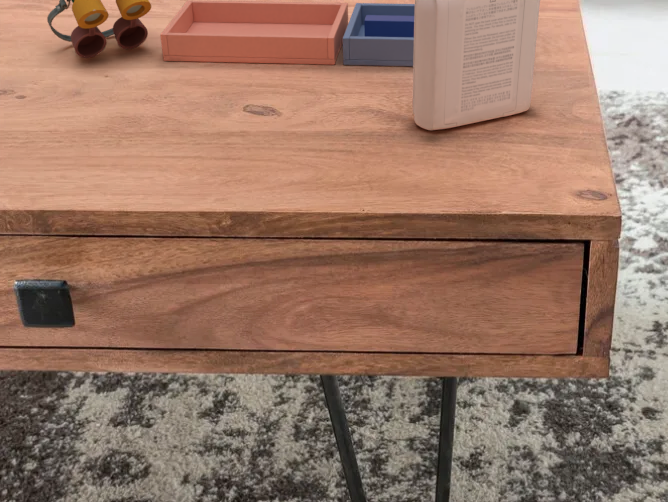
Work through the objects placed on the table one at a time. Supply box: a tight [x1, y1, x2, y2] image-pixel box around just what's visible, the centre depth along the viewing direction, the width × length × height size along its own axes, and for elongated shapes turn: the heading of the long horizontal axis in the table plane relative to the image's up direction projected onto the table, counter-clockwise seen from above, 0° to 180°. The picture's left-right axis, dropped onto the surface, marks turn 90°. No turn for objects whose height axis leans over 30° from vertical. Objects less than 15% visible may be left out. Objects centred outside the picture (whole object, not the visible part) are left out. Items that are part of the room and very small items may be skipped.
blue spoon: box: [364, 15, 414, 37], centre depth 99 cm, size 12×4×2 cm, turn 83°
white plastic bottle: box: [412, 0, 541, 131], centre depth 83 cm, size 10×4×12 cm, turn 116°
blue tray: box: [342, 2, 415, 67], centre depth 99 cm, size 16×10×2 cm, turn 83°
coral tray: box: [159, 0, 349, 66], centre depth 101 cm, size 16×10×2 cm, turn 83°
